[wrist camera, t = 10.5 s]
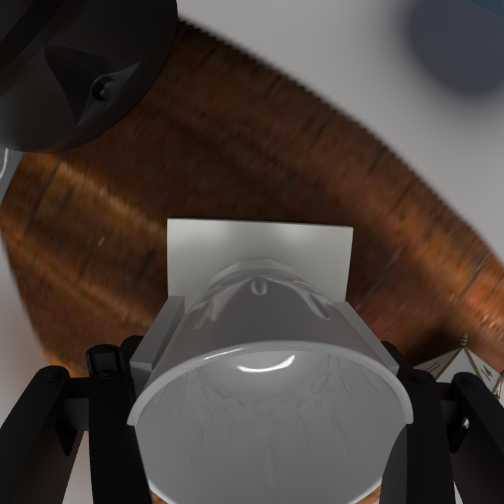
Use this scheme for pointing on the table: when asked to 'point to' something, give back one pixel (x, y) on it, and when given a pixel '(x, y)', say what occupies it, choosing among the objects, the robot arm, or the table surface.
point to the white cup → (267, 398)
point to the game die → (463, 368)
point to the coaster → (255, 252)
